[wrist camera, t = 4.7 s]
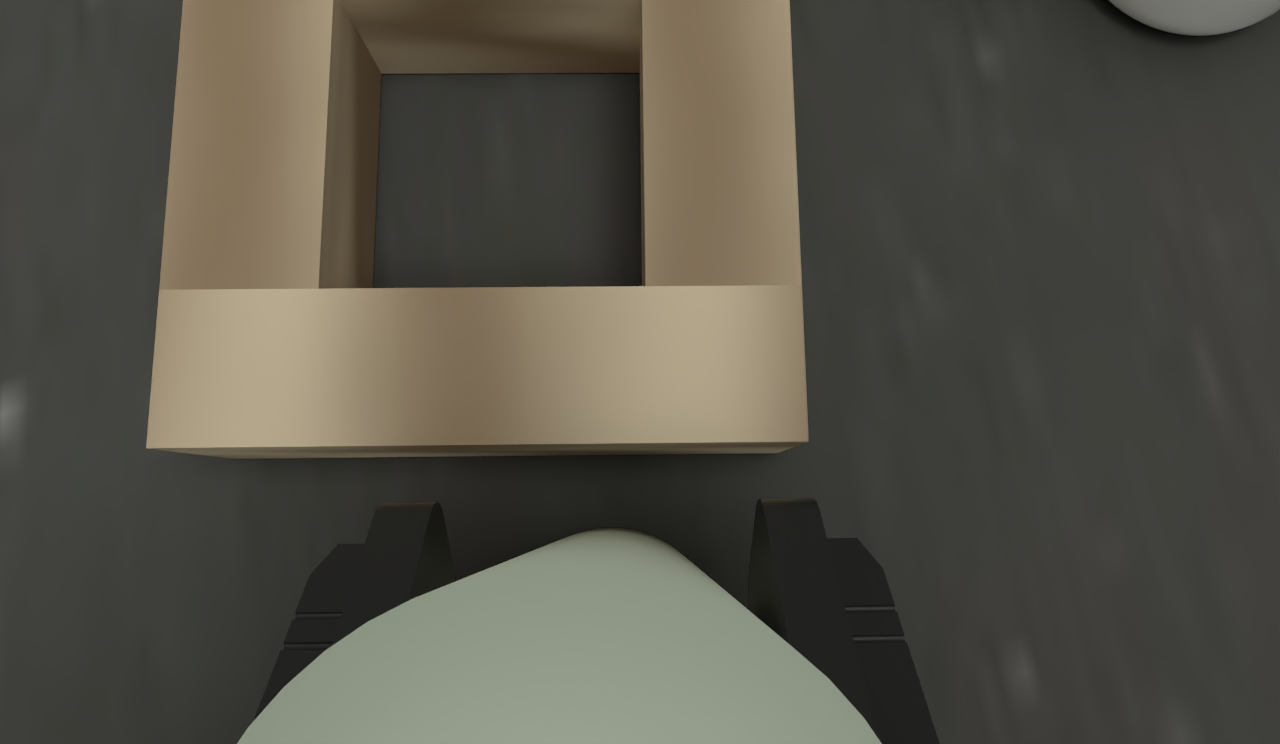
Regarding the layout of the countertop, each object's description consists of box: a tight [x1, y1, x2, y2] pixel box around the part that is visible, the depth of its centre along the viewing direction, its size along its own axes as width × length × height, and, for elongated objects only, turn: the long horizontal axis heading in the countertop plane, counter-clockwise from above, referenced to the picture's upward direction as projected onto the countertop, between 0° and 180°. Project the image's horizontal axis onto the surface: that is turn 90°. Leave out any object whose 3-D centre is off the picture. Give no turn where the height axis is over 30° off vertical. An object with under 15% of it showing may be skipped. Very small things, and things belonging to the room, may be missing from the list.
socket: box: [146, 0, 809, 459], centre depth 16 cm, size 11×11×3 cm
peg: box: [237, 527, 882, 744], centre depth 10 cm, size 4×4×12 cm
